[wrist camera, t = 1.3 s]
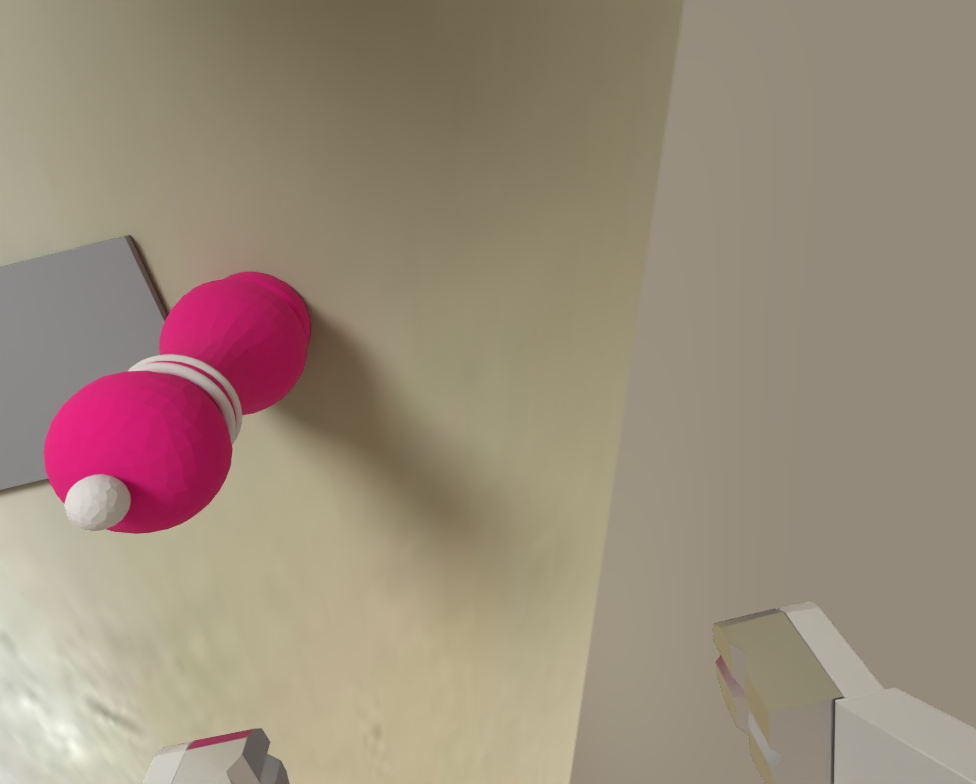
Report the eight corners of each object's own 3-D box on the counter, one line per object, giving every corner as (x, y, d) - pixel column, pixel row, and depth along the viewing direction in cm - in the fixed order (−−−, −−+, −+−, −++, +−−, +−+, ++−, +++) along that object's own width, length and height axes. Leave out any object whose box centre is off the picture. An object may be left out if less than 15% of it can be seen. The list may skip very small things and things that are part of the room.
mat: (129, 235, 34) (124, 236, 34) (222, 433, 40) (218, 437, 39) (-241, 326, 35) (-252, 330, 34) (-100, 510, 40) (-108, 515, 39)
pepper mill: (178, 273, 35) (-99, 435, 17) (301, 253, 35) (157, 393, 17) (219, 386, 38) (20, 626, 20) (332, 367, 38) (238, 589, 20)
